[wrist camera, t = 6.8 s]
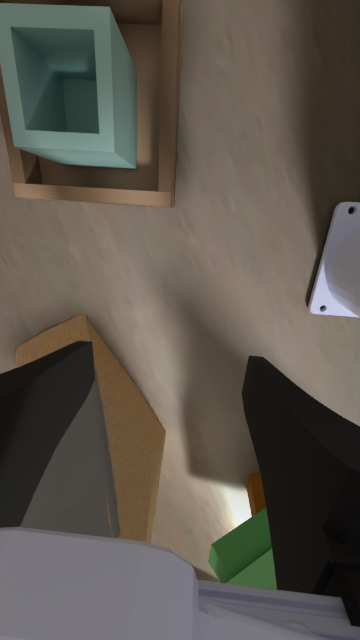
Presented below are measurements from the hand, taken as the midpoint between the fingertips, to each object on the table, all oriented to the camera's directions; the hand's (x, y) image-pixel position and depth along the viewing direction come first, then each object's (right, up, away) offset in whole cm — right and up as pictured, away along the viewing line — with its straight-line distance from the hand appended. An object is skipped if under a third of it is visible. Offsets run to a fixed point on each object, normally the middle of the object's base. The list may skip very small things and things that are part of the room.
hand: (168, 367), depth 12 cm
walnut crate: (-5, +15, +5) cm, 17 cm away
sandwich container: (-8, -5, +14) cm, 17 cm away
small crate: (-5, +15, +4) cm, 16 cm away
